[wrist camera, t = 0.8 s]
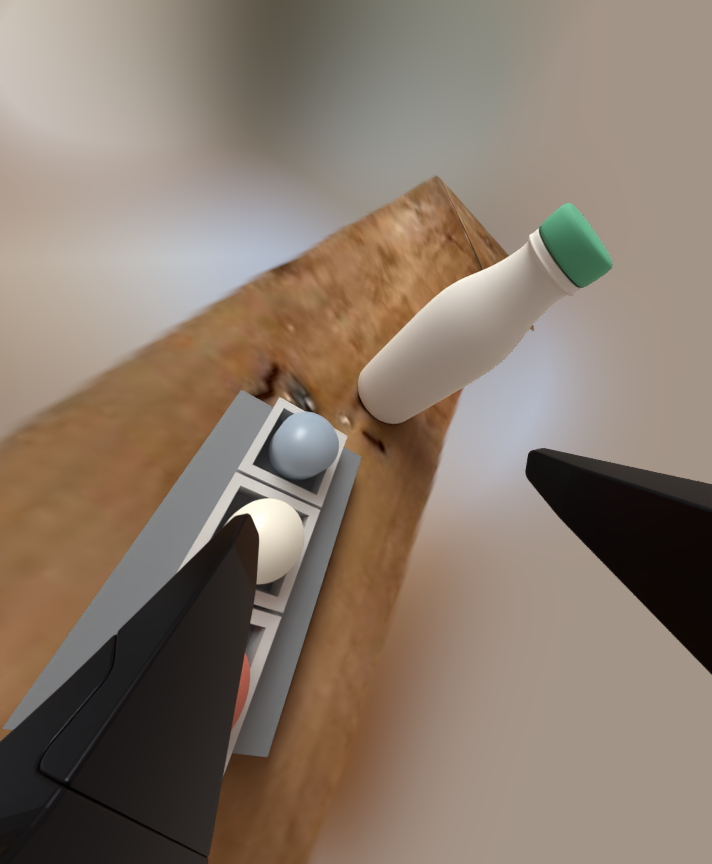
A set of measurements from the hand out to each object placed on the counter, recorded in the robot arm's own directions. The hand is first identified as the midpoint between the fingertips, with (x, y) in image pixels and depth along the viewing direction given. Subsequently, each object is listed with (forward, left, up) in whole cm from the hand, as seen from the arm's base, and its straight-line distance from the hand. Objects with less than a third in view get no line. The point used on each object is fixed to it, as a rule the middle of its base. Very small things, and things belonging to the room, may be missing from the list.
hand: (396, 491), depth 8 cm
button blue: (+4, +2, -11) cm, 11 cm away
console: (-2, +2, -15) cm, 15 cm away
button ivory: (-2, +2, -11) cm, 11 cm away
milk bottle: (+17, -5, -15) cm, 23 cm away
